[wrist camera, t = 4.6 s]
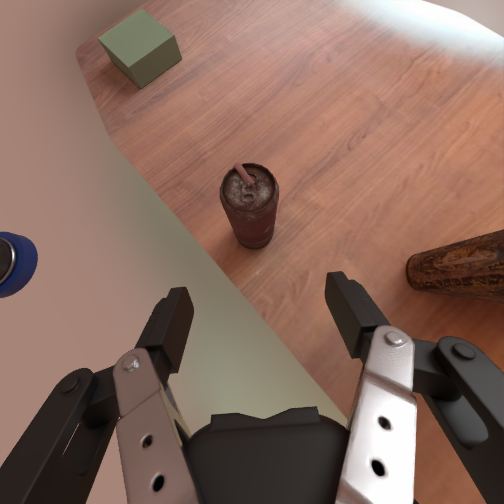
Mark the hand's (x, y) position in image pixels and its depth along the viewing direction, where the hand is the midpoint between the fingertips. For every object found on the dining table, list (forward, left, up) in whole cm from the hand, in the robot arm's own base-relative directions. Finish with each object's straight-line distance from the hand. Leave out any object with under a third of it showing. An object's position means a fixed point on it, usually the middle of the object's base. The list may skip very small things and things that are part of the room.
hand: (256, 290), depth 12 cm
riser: (+16, +52, -20) cm, 58 cm away
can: (+6, +8, -20) cm, 23 cm away
